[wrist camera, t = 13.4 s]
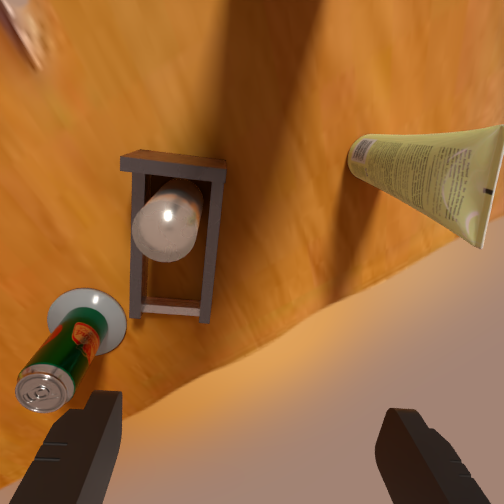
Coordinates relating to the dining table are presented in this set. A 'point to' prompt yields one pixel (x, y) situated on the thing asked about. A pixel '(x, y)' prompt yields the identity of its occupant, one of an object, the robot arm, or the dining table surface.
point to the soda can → (61, 361)
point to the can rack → (215, 172)
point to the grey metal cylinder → (169, 221)
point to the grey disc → (96, 301)
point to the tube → (436, 174)
